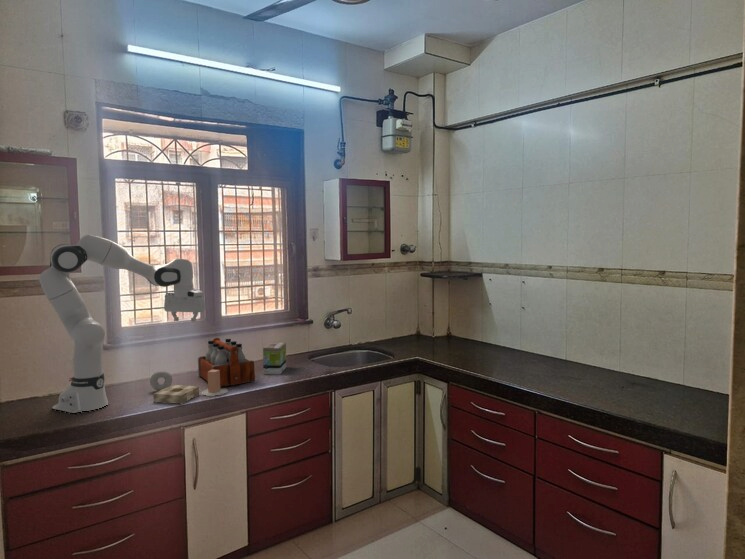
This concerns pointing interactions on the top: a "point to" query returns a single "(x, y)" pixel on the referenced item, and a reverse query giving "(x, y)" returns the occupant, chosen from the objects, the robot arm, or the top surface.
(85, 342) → the robot arm
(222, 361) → the milk bottle holder
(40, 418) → the top surface
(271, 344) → the tea box
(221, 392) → the coaster
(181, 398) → the holder
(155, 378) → the donut
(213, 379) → the peg
